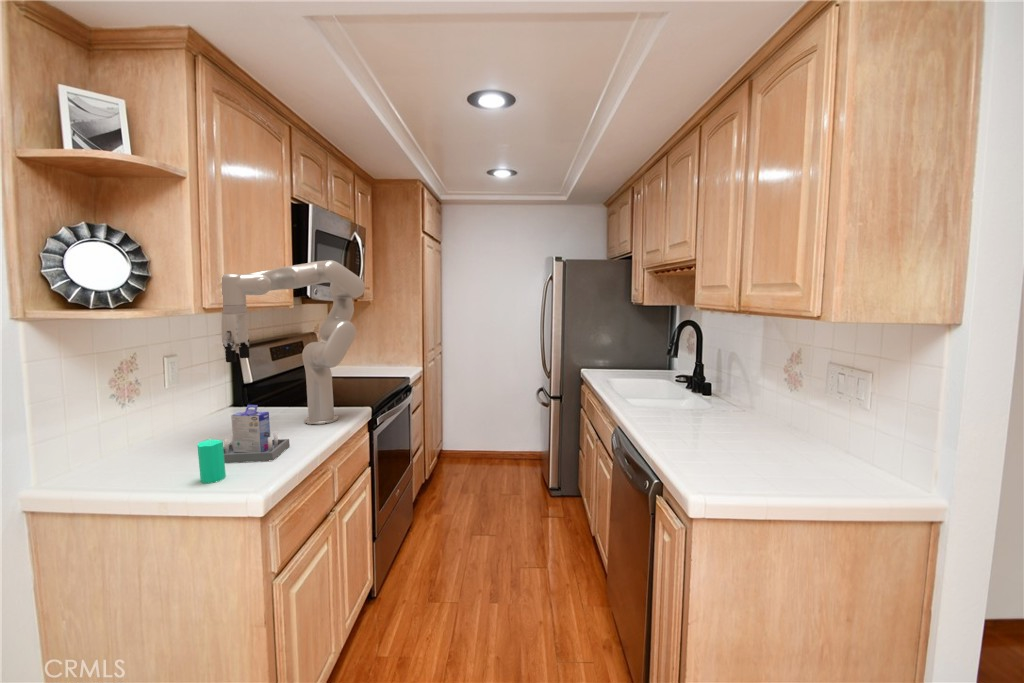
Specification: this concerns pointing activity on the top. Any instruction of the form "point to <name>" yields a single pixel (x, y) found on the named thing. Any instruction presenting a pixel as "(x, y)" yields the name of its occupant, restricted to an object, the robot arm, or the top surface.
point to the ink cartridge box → (250, 430)
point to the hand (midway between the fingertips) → (238, 360)
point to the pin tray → (273, 451)
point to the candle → (211, 461)
